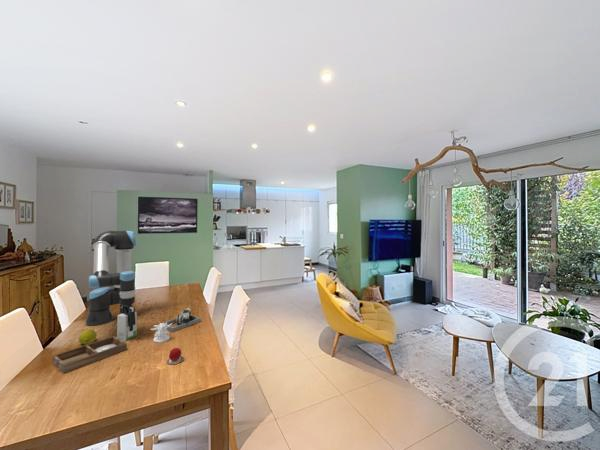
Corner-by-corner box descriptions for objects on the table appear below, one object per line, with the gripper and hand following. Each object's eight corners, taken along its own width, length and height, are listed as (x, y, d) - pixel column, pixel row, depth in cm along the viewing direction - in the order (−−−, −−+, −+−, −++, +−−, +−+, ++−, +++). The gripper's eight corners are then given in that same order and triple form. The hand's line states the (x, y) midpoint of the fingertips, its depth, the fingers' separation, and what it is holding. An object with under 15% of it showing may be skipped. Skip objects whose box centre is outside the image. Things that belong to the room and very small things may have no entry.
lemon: (93, 346, 141) (93, 332, 141) (75, 349, 137) (76, 334, 137) (99, 338, 151) (99, 325, 150) (82, 340, 147) (83, 327, 147)
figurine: (172, 334, 157) (172, 318, 157) (172, 340, 149) (172, 323, 149) (150, 338, 152) (150, 321, 152) (149, 344, 144) (149, 326, 144)
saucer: (91, 351, 133) (91, 348, 133) (112, 344, 141) (112, 341, 141) (98, 357, 128) (98, 354, 128) (119, 349, 136) (119, 346, 136)
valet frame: (160, 327, 168) (160, 323, 168) (188, 317, 186) (188, 314, 186) (172, 332, 161) (172, 328, 161) (200, 321, 178) (200, 318, 178)
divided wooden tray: (52, 364, 122) (52, 355, 122) (113, 343, 144) (113, 335, 144) (63, 375, 114) (63, 365, 114) (126, 351, 136) (126, 343, 136)
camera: (178, 319, 182) (179, 306, 182) (191, 318, 185) (191, 305, 185) (175, 328, 167) (175, 313, 167) (189, 326, 170) (189, 312, 170)
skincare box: (125, 342, 146) (125, 316, 146) (115, 341, 147) (116, 315, 147) (137, 336, 154) (137, 311, 154) (128, 335, 155) (128, 310, 155)
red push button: (172, 367, 122) (172, 353, 122) (163, 362, 126) (163, 349, 126) (186, 359, 129) (187, 347, 129) (177, 355, 133) (178, 343, 133)
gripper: (112, 295, 153) (112, 332, 153) (128, 301, 142) (128, 341, 142) (126, 293, 159) (125, 328, 159) (142, 298, 148) (142, 336, 148)
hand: (126, 334), depth 150 cm, fingers closed on skincare box, 8 cm apart
